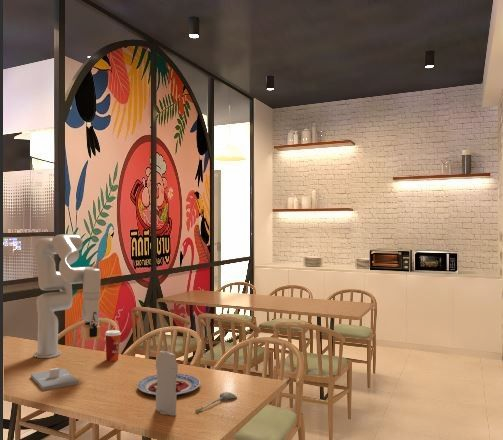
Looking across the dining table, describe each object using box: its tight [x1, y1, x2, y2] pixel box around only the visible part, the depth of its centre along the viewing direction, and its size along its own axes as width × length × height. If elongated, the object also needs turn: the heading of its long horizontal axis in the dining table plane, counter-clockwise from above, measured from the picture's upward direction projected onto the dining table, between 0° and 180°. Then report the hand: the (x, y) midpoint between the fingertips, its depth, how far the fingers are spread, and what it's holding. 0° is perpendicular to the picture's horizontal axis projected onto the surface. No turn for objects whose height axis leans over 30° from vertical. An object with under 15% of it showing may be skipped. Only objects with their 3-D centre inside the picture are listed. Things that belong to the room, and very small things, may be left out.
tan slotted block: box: [80, 323, 101, 341], centre depth 212 cm, size 7×7×5 cm
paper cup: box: [104, 329, 122, 362], centre depth 233 cm, size 8×8×14 cm
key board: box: [30, 367, 79, 392], centre depth 200 cm, size 20×14×5 cm
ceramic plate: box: [136, 373, 201, 396], centre depth 194 cm, size 26×26×3 cm
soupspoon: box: [194, 391, 238, 414], centre depth 178 cm, size 22×3×7 cm
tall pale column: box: [155, 350, 179, 417], centre depth 169 cm, size 11×4×22 cm, turn 56°
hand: (90, 334), depth 212 cm, fingers closed on tan slotted block, 6 cm apart
